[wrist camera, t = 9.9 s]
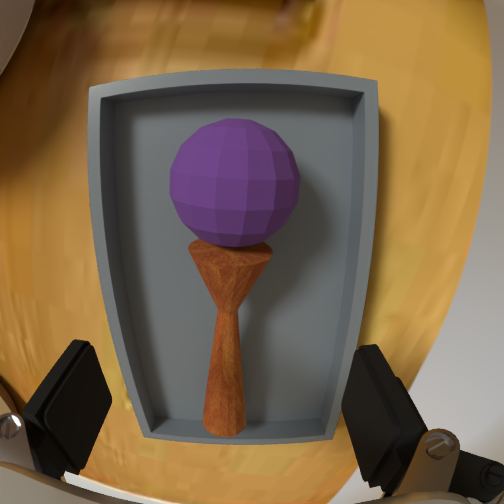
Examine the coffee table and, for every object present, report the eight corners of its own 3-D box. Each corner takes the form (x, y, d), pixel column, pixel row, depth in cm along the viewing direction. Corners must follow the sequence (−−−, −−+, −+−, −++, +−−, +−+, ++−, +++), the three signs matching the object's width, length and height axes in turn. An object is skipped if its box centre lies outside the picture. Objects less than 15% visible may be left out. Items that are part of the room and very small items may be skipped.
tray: (108, 94, 15) (89, 87, 13) (360, 90, 16) (377, 80, 13) (150, 416, 23) (144, 437, 20) (326, 417, 23) (332, 439, 21)
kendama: (173, 439, 18) (147, 114, 10) (198, 385, 23) (199, 121, 16) (256, 459, 17) (304, 119, 10) (269, 399, 22) (306, 128, 15)
